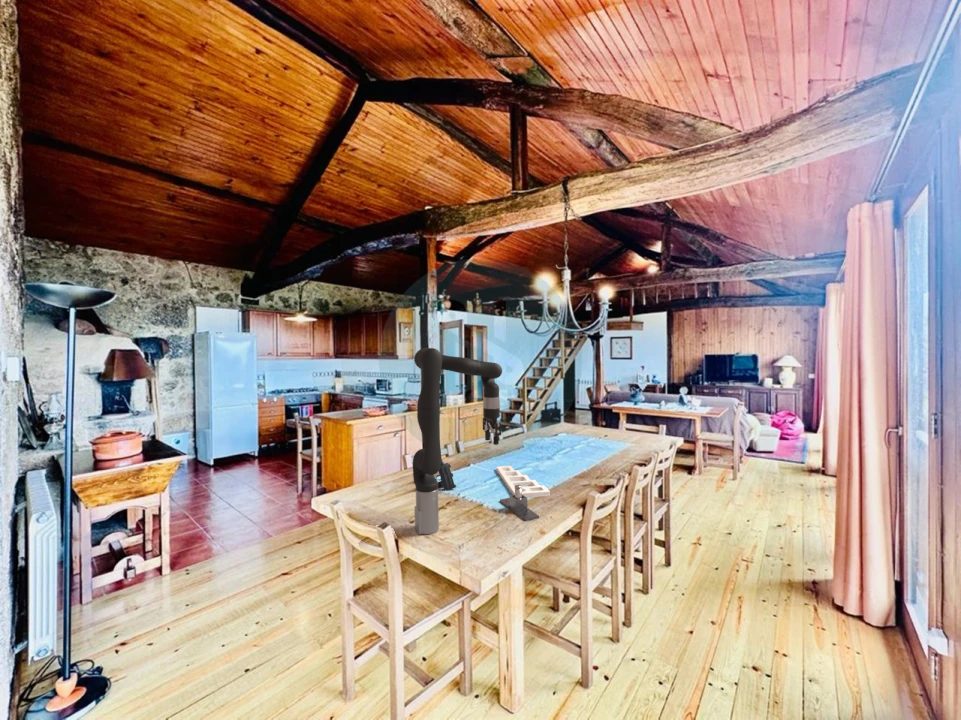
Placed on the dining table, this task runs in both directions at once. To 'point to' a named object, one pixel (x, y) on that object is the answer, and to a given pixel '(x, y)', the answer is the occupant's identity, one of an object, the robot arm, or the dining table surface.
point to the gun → (445, 477)
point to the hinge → (519, 507)
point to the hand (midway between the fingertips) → (491, 442)
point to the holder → (521, 482)
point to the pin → (518, 491)
